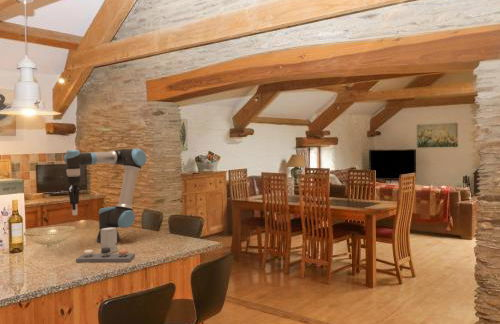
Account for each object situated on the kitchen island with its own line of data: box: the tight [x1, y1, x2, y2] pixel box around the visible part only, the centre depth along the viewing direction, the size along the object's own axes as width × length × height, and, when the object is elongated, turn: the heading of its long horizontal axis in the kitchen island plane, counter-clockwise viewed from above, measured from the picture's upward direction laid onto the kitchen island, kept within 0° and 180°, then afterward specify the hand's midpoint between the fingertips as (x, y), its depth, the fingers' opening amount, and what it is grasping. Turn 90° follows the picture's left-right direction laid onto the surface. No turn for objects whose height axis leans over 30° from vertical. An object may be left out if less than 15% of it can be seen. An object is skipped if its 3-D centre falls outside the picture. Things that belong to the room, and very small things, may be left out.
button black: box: [100, 247, 110, 257], centre depth 262 cm, size 5×5×5 cm
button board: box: [75, 252, 136, 264], centre depth 263 cm, size 12×30×2 cm, turn 89°
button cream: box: [83, 249, 94, 257], centre depth 263 cm, size 5×5×5 cm
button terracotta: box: [118, 248, 129, 257], centre depth 262 cm, size 5×5×5 cm
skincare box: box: [100, 227, 118, 254], centre depth 280 cm, size 8×6×15 cm
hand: (74, 214), depth 275 cm, fingers closed
